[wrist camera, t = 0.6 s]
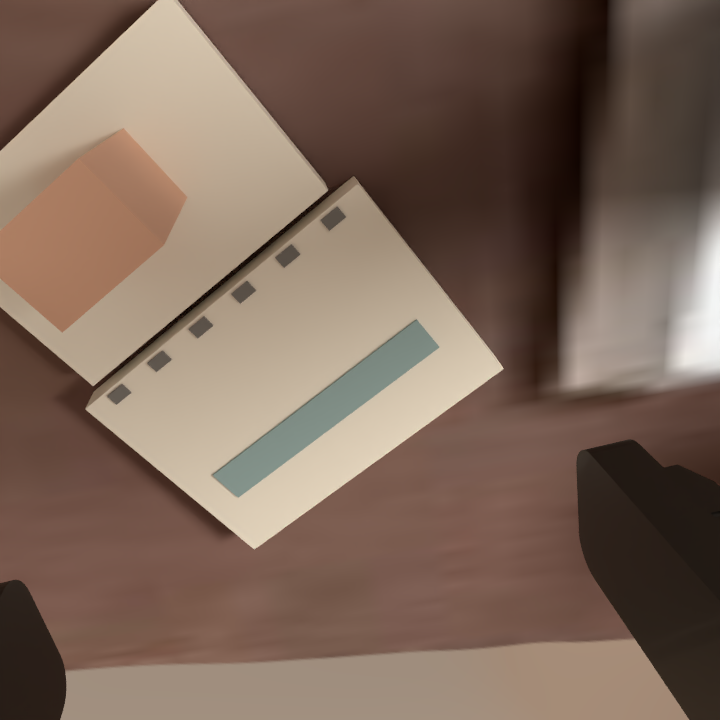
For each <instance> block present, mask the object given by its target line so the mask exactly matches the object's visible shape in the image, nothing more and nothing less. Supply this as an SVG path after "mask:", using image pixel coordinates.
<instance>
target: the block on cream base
mask: <svg viewBox="0 0 720 720" xmlns="http://www.w3.org/2000/svg"><path fill="white" fill-rule="evenodd" d="M327 191H328V189H327V186H326V183H325V182H324V181H323V179H322V178H321V177H320V176H319V174H318V173H317V172H316V171H315V169H314V168H313V167H312V166H311V164H310V163H309V162H308V161H307V160H306V158H305V157H304V156H303V155H302V153H301V152H300V151H299V150H298V148H297V147H296V146H295V145H294V143H293V142H292V141H291V140H290V139H289V137H288V136H287V135H286V134H285V132H284V131H283V130H282V129H281V127H280V126H279V125H278V124H277V122H276V121H275V120H274V119H273V118H272V116H271V115H270V114H269V113H268V111H267V110H266V109H265V108H264V106H263V105H262V104H261V103H260V101H259V100H258V99H257V98H256V97H255V95H254V94H253V93H252V92H251V90H250V89H249V88H248V87H247V85H246V84H245V83H244V82H243V81H242V79H241V78H240V77H239V76H238V74H237V73H236V72H235V71H234V69H233V68H232V67H231V66H230V64H229V63H228V62H227V61H226V60H225V58H224V57H223V56H222V55H221V53H220V52H219V51H218V50H217V48H216V47H215V46H214V45H213V43H212V42H211V41H210V40H209V39H208V37H207V36H206V35H205V34H204V32H203V31H202V30H201V29H200V27H199V26H198V25H197V24H196V22H195V21H194V20H193V19H192V18H191V16H190V15H189V14H188V13H187V11H186V10H185V9H184V8H183V6H182V5H181V4H180V3H179V1H178V0H158V1H157V2H156V3H155V4H153V5H152V6H151V7H150V8H149V9H148V10H147V11H146V12H145V13H144V14H143V15H142V16H141V17H140V18H139V19H138V20H137V21H136V22H135V23H134V24H133V25H132V26H130V27H129V28H128V29H127V30H126V31H125V32H124V33H123V34H122V35H121V36H120V37H119V38H118V39H117V40H116V41H115V42H114V43H113V44H112V45H111V46H110V47H109V48H107V49H106V50H105V51H104V52H103V53H102V54H101V55H100V56H99V57H98V58H97V59H96V60H95V61H94V62H93V63H92V64H91V65H90V66H89V67H88V68H87V69H86V70H84V71H83V72H82V73H81V74H80V75H79V76H78V77H77V78H76V79H75V80H74V81H73V82H72V83H71V84H70V85H69V86H68V87H67V88H66V89H65V90H64V91H63V92H62V93H60V94H59V95H58V96H57V97H56V98H55V99H54V100H53V101H52V102H51V103H50V104H49V105H48V106H47V107H46V108H45V109H44V110H43V111H42V112H41V113H40V114H39V115H37V116H36V117H35V118H34V119H33V120H32V121H31V122H30V123H29V124H28V125H27V126H26V127H25V128H24V129H23V130H22V131H21V132H20V133H19V134H18V135H17V136H16V137H14V138H13V139H12V140H11V141H10V142H9V143H8V144H7V145H6V146H5V147H4V148H3V149H2V150H1V151H0V307H1V308H2V309H3V310H4V311H5V312H7V313H8V314H9V315H10V316H11V317H12V318H14V319H15V320H16V321H17V322H18V323H19V324H21V325H22V326H23V327H24V328H25V329H27V330H28V331H29V332H30V333H31V334H32V335H34V336H35V337H36V338H37V339H38V340H39V341H41V342H42V343H43V344H44V345H45V346H46V347H48V348H49V349H50V350H51V351H52V352H54V353H55V354H56V355H57V356H58V357H59V358H61V359H62V360H63V361H64V362H65V363H66V364H68V365H69V366H70V367H71V368H72V369H73V370H75V371H76V372H77V373H78V374H79V375H81V376H82V377H83V378H84V379H85V380H86V381H88V382H89V383H90V384H91V385H92V386H94V385H95V384H96V383H98V382H99V381H100V380H101V379H102V378H104V377H105V376H106V375H107V374H108V373H110V372H111V371H112V370H113V369H114V368H116V367H117V366H118V365H119V364H120V363H122V362H123V361H124V360H125V359H126V358H128V357H129V356H130V355H131V354H132V353H134V352H135V351H136V350H137V349H138V348H140V347H141V346H142V345H143V344H144V343H146V342H147V341H148V340H149V339H150V338H152V337H153V336H154V335H155V334H156V333H158V332H159V331H160V330H161V329H162V328H164V327H165V326H166V325H167V324H169V323H170V322H171V321H172V320H173V319H175V318H176V317H177V316H178V315H179V314H181V313H182V312H183V311H184V310H185V309H187V308H188V307H189V306H190V305H191V304H193V303H194V302H195V301H196V300H197V299H199V298H200V297H201V296H202V295H203V294H205V293H206V292H207V291H208V290H209V289H211V288H212V287H213V286H214V285H215V284H217V283H218V282H219V281H220V280H221V279H223V278H224V277H225V276H226V275H227V274H229V273H230V272H231V271H232V270H233V269H235V268H236V267H237V266H238V265H239V264H241V263H242V262H243V261H244V260H245V259H247V258H248V257H249V256H250V255H251V254H253V253H254V252H255V251H256V250H257V249H259V248H260V247H261V246H262V245H263V244H265V243H266V242H267V241H268V240H269V239H271V238H272V237H273V236H274V235H275V234H277V233H278V232H279V231H280V230H281V229H283V228H284V227H285V226H286V225H287V224H289V223H290V222H291V221H292V220H293V219H295V218H296V217H297V216H298V215H299V214H301V213H302V212H303V211H304V210H305V209H307V208H308V207H309V206H310V205H312V204H313V203H314V202H315V201H316V200H318V199H319V198H320V197H321V196H322V195H324V194H325V193H326V192H327Z"/></svg>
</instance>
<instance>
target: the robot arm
mask: <svg viewBox="0 0 720 720" xmlns="http://www.w3.org/2000/svg"><path fill="white" fill-rule="evenodd" d="M577 489H578V515H579V536H580V543H581V547H582V551H583V554H584V557H585V560H586V563H587V565H588V567H589V570H590V572H591V574H592V575H593V577H594V579H595V580H596V582H597V583H598V585H599V586H600V588H601V589H602V591H603V592H604V594H605V595H606V597H607V598H608V600H609V601H610V603H611V604H612V606H613V607H614V608H615V610H616V611H617V613H618V614H619V616H620V617H621V619H622V620H623V622H624V623H625V625H626V626H627V628H628V629H629V631H630V632H631V634H632V635H633V637H634V638H635V640H636V641H637V643H638V644H639V646H640V647H641V649H642V650H643V651H644V653H645V654H646V656H647V657H648V659H649V660H650V662H651V663H652V665H653V666H654V668H655V669H656V671H657V672H658V674H659V675H660V676H661V678H662V680H663V681H664V683H665V684H666V686H667V687H668V689H669V690H670V692H671V693H672V694H673V696H674V697H675V699H676V700H677V702H678V703H679V705H680V706H681V708H682V709H683V711H684V712H685V714H686V715H687V717H688V718H689V720H720V487H719V486H718V485H717V484H716V483H715V482H714V481H711V480H709V479H707V478H705V477H703V476H701V475H699V474H696V473H694V472H692V471H690V470H688V469H686V468H684V467H681V466H679V465H674V466H670V467H666V468H663V467H662V466H661V465H660V464H659V463H658V462H657V461H656V460H655V459H654V458H653V457H652V456H651V455H650V454H649V453H648V452H647V451H646V450H645V449H644V448H643V447H642V446H641V445H640V444H638V443H637V442H636V441H634V440H631V439H629V440H625V441H620V442H616V443H612V444H607V445H603V446H599V447H594V448H590V449H586V450H581V451H580V452H579V454H578V456H577ZM65 698H66V675H65V669H64V664H63V661H62V658H61V656H60V653H59V651H58V649H57V647H56V645H55V643H54V641H53V639H52V637H51V635H50V633H49V631H48V629H47V627H46V625H45V623H44V621H43V619H42V617H41V615H40V612H39V610H38V608H37V606H36V604H35V602H34V600H33V598H32V596H31V594H30V592H29V590H28V588H27V587H26V586H25V584H23V583H22V582H21V581H19V580H12V581H8V582H3V583H0V720H60V718H61V715H62V711H63V708H64V704H65Z"/></svg>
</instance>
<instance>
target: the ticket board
mask: <svg viewBox="0 0 720 720" xmlns="http://www.w3.org/2000/svg"><path fill="white" fill-rule="evenodd" d="M503 369H504V368H503V367H502V366H501V364H500V363H499V361H498V360H497V358H496V357H495V356H494V354H493V353H492V351H491V350H490V349H489V348H488V346H487V345H486V344H485V343H484V341H483V340H482V339H481V337H480V336H479V335H478V334H477V332H476V331H475V330H474V329H473V327H472V326H471V325H470V323H469V322H468V321H467V320H466V318H465V317H464V316H463V314H462V313H461V312H460V311H459V309H458V308H457V307H456V306H455V304H454V303H453V302H452V300H451V299H450V298H449V297H448V295H447V294H446V293H445V292H444V290H443V289H442V288H441V286H440V285H439V284H438V283H437V281H436V280H435V279H434V277H433V276H432V275H431V274H430V272H429V271H428V270H427V269H426V267H425V266H424V265H423V263H422V262H421V261H420V260H419V258H418V257H417V256H416V254H415V253H414V252H413V251H412V249H411V248H410V247H409V246H408V244H407V243H406V242H405V240H404V239H403V238H402V237H401V235H400V234H399V233H398V232H397V230H396V229H395V228H394V226H393V225H392V224H391V223H390V221H389V220H388V219H387V217H386V216H385V215H384V214H383V212H382V211H381V210H380V209H379V207H378V206H377V205H376V203H375V202H374V201H373V200H372V198H371V197H370V196H369V195H368V193H367V192H366V191H365V189H364V188H363V187H362V186H361V184H360V183H359V182H358V180H357V179H356V178H355V177H354V176H353V177H351V178H350V179H349V180H348V181H347V182H345V183H344V184H343V185H342V186H341V187H339V188H338V189H337V190H336V191H335V192H333V193H332V194H331V195H330V196H329V197H327V198H326V199H325V200H324V201H323V202H321V203H320V204H319V205H318V206H317V207H315V208H314V209H313V210H312V211H311V212H309V213H308V214H307V215H306V216H304V217H303V218H302V219H301V220H300V221H298V222H297V223H296V224H295V225H294V226H292V227H291V228H290V229H289V230H288V231H286V232H285V233H284V234H283V235H282V236H280V237H279V238H278V239H277V240H276V241H274V242H273V243H272V244H271V245H270V246H268V247H267V248H266V249H265V250H264V251H262V252H261V253H260V254H259V255H258V256H256V257H255V258H254V259H253V260H251V261H250V262H249V263H248V264H247V265H245V266H244V267H243V268H242V269H241V270H239V271H238V272H237V273H236V274H235V275H233V276H232V277H231V278H230V279H229V280H227V281H226V282H225V283H224V284H223V285H221V286H220V287H219V288H218V289H217V290H215V291H214V292H213V293H212V294H211V295H209V296H208V297H207V298H206V299H204V300H203V301H202V302H201V303H200V304H198V305H197V306H196V307H195V308H194V309H192V310H191V311H190V312H189V313H188V314H186V315H185V316H184V317H183V318H182V319H180V320H179V321H178V322H177V323H176V324H174V325H173V326H172V327H171V328H170V329H168V330H167V331H166V332H165V333H164V334H162V335H161V336H160V337H159V338H157V339H156V340H155V341H154V342H153V343H151V344H150V345H149V346H148V347H147V348H145V349H144V350H143V351H142V352H141V353H139V354H138V355H137V356H136V357H135V358H133V359H132V360H131V361H130V362H129V363H127V364H126V365H125V366H124V367H123V368H121V369H120V370H119V371H118V372H117V373H115V374H114V375H113V376H112V377H111V378H109V379H108V380H107V381H106V382H104V383H103V384H102V385H101V386H100V387H98V388H97V389H96V390H95V391H94V392H93V394H92V396H91V398H90V400H89V402H88V404H87V406H86V408H85V410H87V411H88V412H89V413H90V414H91V415H93V416H94V417H95V418H96V419H98V420H99V421H100V422H101V423H102V424H104V425H105V426H106V427H107V428H108V429H110V430H111V431H112V432H113V433H114V434H116V435H117V436H118V437H119V438H120V439H122V440H123V441H124V442H125V443H126V444H128V445H129V446H130V447H131V448H133V449H134V450H135V451H136V452H137V453H139V454H140V455H141V456H142V457H143V458H145V459H146V460H147V461H148V462H149V463H151V464H152V465H153V466H154V467H155V468H157V469H158V470H159V471H160V472H161V473H163V474H164V475H165V476H166V477H168V478H169V479H170V480H171V481H172V482H174V483H175V484H176V485H177V486H178V487H180V488H181V489H182V490H183V491H184V492H186V493H187V494H188V495H189V496H190V497H192V498H193V499H194V500H195V501H196V502H198V503H199V504H200V505H201V506H203V507H204V508H205V509H206V510H207V511H209V512H210V513H211V514H212V515H213V516H215V517H216V518H217V519H218V520H219V521H221V522H222V523H223V524H224V525H225V526H227V527H228V528H229V529H230V530H231V531H233V532H234V533H235V534H236V535H238V536H239V537H240V538H241V539H242V540H244V541H245V542H246V543H247V544H248V545H250V546H251V547H252V548H253V549H256V548H257V547H258V546H260V545H261V544H263V543H264V542H265V541H267V540H268V539H269V538H271V537H272V536H274V535H275V534H276V533H278V532H279V531H280V530H282V529H283V528H285V527H286V526H287V525H289V524H290V523H292V522H293V521H294V520H296V519H297V518H298V517H300V516H301V515H303V514H304V513H305V512H307V511H308V510H309V509H311V508H312V507H314V506H315V505H316V504H318V503H319V502H321V501H322V500H323V499H325V498H326V497H327V496H329V495H330V494H332V493H333V492H334V491H336V490H337V489H338V488H340V487H341V486H343V485H344V484H345V483H347V482H348V481H349V480H351V479H352V478H354V477H355V476H356V475H358V474H359V473H361V472H362V471H363V470H365V469H366V468H367V467H369V466H370V465H372V464H373V463H374V462H376V461H377V460H378V459H380V458H381V457H383V456H384V455H385V454H387V453H388V452H390V451H391V450H392V449H394V448H395V447H396V446H398V445H399V444H401V443H402V442H403V441H405V440H406V439H407V438H409V437H410V436H412V435H413V434H414V433H416V432H417V431H419V430H420V429H421V428H423V427H424V426H425V425H427V424H428V423H430V422H431V421H432V420H434V419H435V418H436V417H438V416H439V415H441V414H442V413H443V412H445V411H446V410H448V409H449V408H450V407H452V406H453V405H454V404H456V403H457V402H459V401H460V400H461V399H463V398H464V397H465V396H467V395H468V394H470V393H471V392H472V391H474V390H475V389H476V388H478V387H479V386H481V385H482V384H483V383H485V382H486V381H488V380H489V379H490V378H492V377H493V376H494V375H496V374H497V373H499V372H500V371H501V370H503Z"/></svg>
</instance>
